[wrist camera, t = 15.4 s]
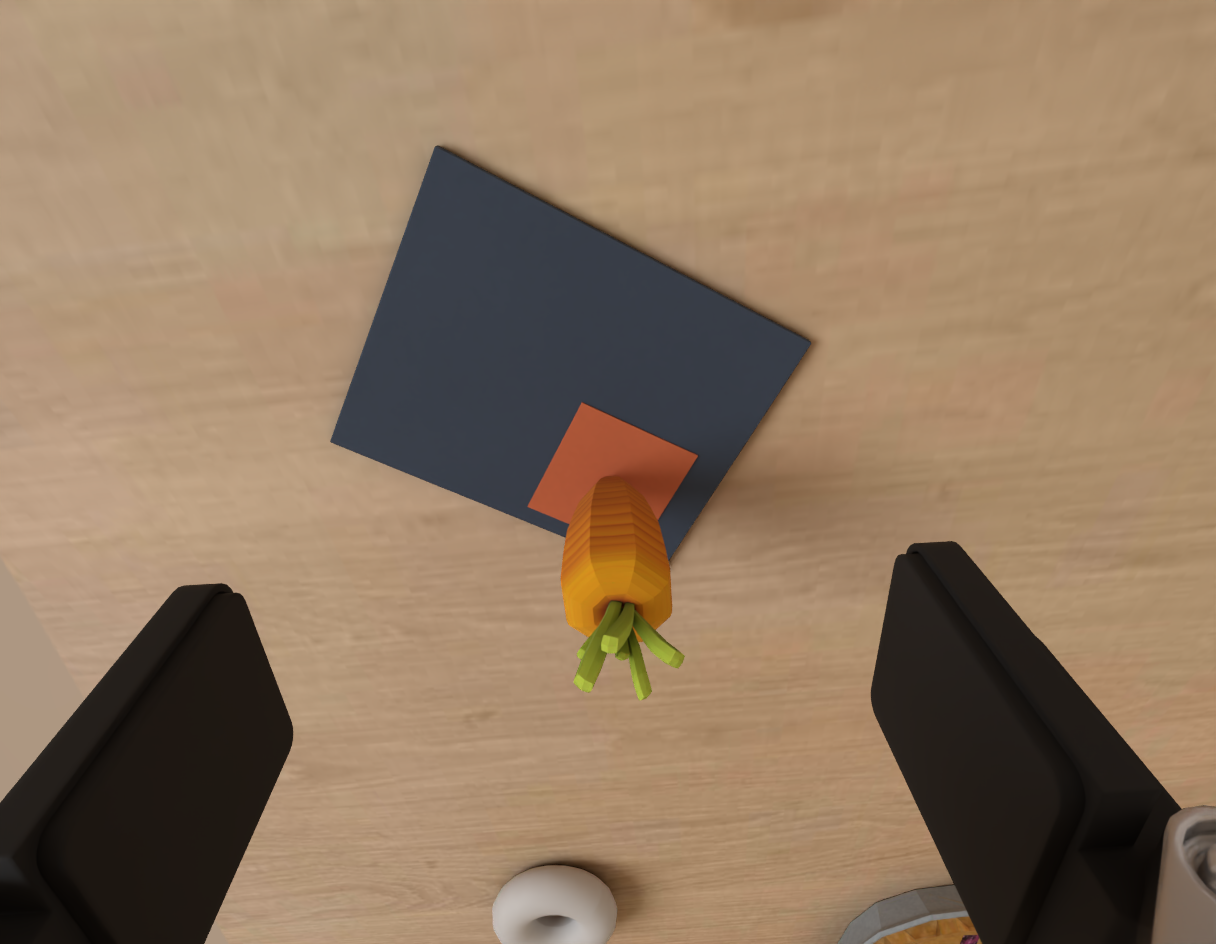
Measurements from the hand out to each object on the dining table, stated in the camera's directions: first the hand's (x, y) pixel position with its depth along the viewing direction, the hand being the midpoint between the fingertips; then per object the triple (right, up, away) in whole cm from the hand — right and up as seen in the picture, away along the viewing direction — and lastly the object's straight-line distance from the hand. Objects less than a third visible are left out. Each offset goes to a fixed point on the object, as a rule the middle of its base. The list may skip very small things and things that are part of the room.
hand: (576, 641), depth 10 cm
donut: (-4, -32, +47) cm, 57 cm away
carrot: (+1, +2, +28) cm, 28 cm away
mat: (-2, +7, +26) cm, 27 cm away
